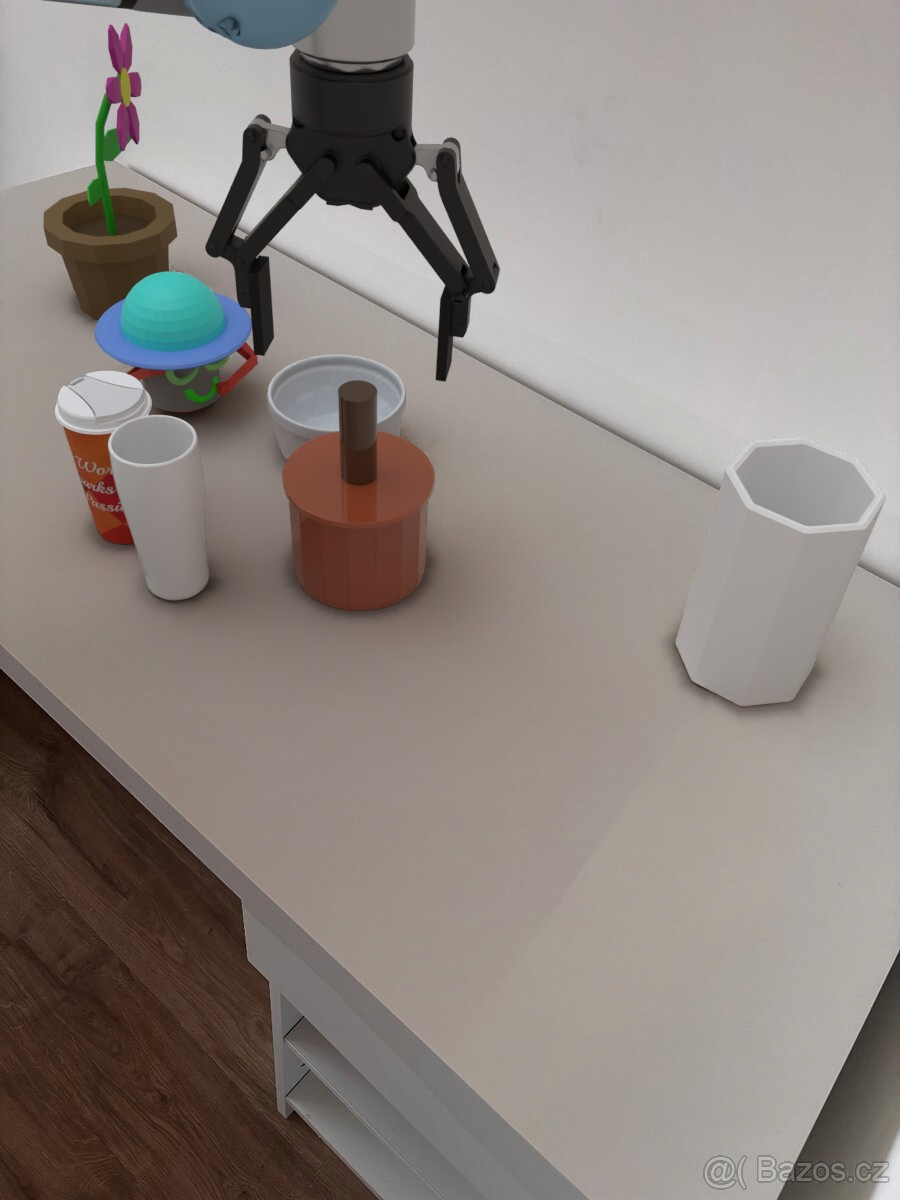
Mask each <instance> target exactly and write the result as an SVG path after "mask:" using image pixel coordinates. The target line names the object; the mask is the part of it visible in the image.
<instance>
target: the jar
mask: <svg viewBox="0 0 900 1200" xmlns="http://www.w3.org/2000/svg"><path fill="white" fill-rule="evenodd" d="M288 507H289V519H290V532H291V533H290V534H291V547H292V559H293V571H294V574H295V577H296V579H297V582H298V583H299V585H300V586H301V588H302V589H303V590H304V591H305V592H306V593H307V594H308V595H309V596H311V598H313V599H314V600H316V601H318V602H320V603H322V604H324V605H326V606H328V607H332V608H336V609H340V610H345V611H346V610H347V611H353V612H354V611H357V612H358V611H362V612H363V611H374V610H379V609H382V608H386V607H390V606H392V605H394V604H396V603H399V602H400V601H402V600H404V599H405V598H406V597H408V596H410V594H412V593H413V592H414V591H415V589H417V587H418V586H419V584H420V582H421V581H422V579H423V576H424V572H425V569H426V564H427V563H426V560H427V537H428V516H429V515H428V514H429V501H428V502H427V503H426V504H425V505H424V506H423V507H422V508H421V509H420V510H419V511H418V512H416V513H415V514H413V515H412V516H410V517H408V518H406V519H404V520H402V521H400V522H397V523H394V524H391V525H387V526H383V527H378V528H370V529H347V528H339V527H334V526H330V525H326V524H323V523H320V522H318V521H315V520H313V519H311V518H309V517H307V516H305V515H304V514H302V513H301V512H300V511H298V510H297V509H296V508H295V507H294V506H293V505H292V504H291V502H290V501H289V500H288Z"/></svg>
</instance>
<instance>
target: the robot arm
mask: <svg viewBox="0 0 900 1200" xmlns="http://www.w3.org/2000/svg"><path fill="white" fill-rule="evenodd" d="M42 1H45V2H54V3H63V4H74V5H83V6H93V7H102V8H111V9H124V10H131V11H135V12H140V13H141V12H143V13H151V14H158V15H169V16H178V17H186V18H187V17H188V18H194V19H195V20H196V21H197V22H198V23H199V24H200V25H201V26H202V27H203V28H205V29H206V30H208V31H209V32H212V33H214V34H217V35H218V36H221V37H223V38H225V39H228V40H229V41H231V42H233V43H234V44H236V45H239V46H242V47H245V48H250V49H254V50H278V49H282V48H286V47H289V46H292V47H293V48H294V50H293V52H292V53H291V54H290V56H289V58H288V59H289V81H290V82H289V83H290V84H289V85H290V105H291V106H290V107H291V125H290V127H287V126H284V125H279V124H275V123H272V121H271V119H270V117H269V116H268V115H266V114H264V113H259V114H257V115H255V117H254V118H253V119H252V120H251V121H250V123H249V124H248V125H247V127H246V128H245V129H244V130H243V132H242V146H241V147H242V149H241V162H240V164H239V167H238V168H237V171H236V174H235V176H234V178H233V180H232V182H231V185H230V188H229V191H228V192H227V194H226V196H225V199H224V202H223V204H222V206H221V208H220V211H219V213H218V216H217V218H216V220H215V223H214V225H213V227H212V228H211V231H210V234H209V236H208V239H207V241H206V243H205V245H204V249H205V253H206V254H207V255H208V256H209V257H210V258H214V259H218V258H221V259H224V260H225V261H228V262H229V263H230V264H231V265H232V267H233V270H234V279H235V292H236V302H237V303H239V305H240V307H242V308H244V309H248V310H249V309H250V318H251V322H252V330H251V333H252V334H251V335H252V343H253V345H252V346H253V351H254V355H257V356H261V357H265V355H266V353H267V351H268V350H269V347H271V345H272V343H273V341H274V339H275V328H274V315H273V314H274V311H273V298H272V282H271V280H272V279H271V267H270V266H271V265H270V264H271V263H270V256H267V255H260V254H261V253H262V251H264V250H265V249H266V247H267V246H268V245H269V244H270V243H271V242H272V240H273V239H275V238H276V236H277V235H278V234H280V232H281V231H282V229H284V227H286V225H287V224H288V223H289V222H290V221H291V220H292V218H293V217H295V215H296V214H297V213H298V212H299V211H301V210H302V209H303V208H304V207H305V206H306V204H307V203H308V202H309V201H310V200H311V199H312V198H313V197H314V195H316V196H317V197H318V198H320V200H323V201H325V205H326V206H333V207H341V206H351V207H354V208H357V209H359V210H364V211H373V210H374V208H379V207H380V206H381V208H382V209H383V211H384V212H385V213H386V214H387V216H388V217H389V218H390V219H391V220H392V221H393V222H394V223H398V225H399V226H400V227H401V228H402V231H404V233H405V234H406V236H408V239H410V241H411V242H412V243H413V245H414V246H415V248H416V249H417V250H418V251H419V252H420V254H421V255H422V256H423V258H424V259H425V261H426V263H428V264H429V266H430V268H432V271H434V272H435V274H436V275H437V276H438V278H439V279H440V281H442V283H443V285H444V287H443V289H442V293H441V295H440V298H439V314H438V315H439V316H438V317H439V318H438V331H437V348H436V349H437V350H436V365H435V381H438V382H445V383H446V382H447V379H448V376H449V372H450V369H451V366H452V361H453V348H454V337H455V338H462V339H464V337H465V335H466V334H467V333H468V332H467V331H468V328H469V325H470V319H471V307H472V296H474V295H476V294H479V293H482V294H484V295H490V294H493V293H494V292H495V290H496V287H497V283H498V281H499V276H500V273H501V268H500V265H499V262H498V259H497V257H496V255H495V252H494V249H493V247H492V245H491V242H490V240H489V237H488V234H487V232H486V229H485V227H484V225H483V223H482V220H481V217H480V215H479V213H478V210H477V207H476V205H475V203H474V200H473V197H472V195H471V193H470V190H469V187H468V185H467V182H466V180H465V178H464V175H463V171H462V170H463V169H462V168H463V167H462V148H461V143H460V142H459V140H458V139H457V138H456V137H453V136H450V137H447V138H445V139H444V140H443V142H442V143H418V142H417V140H416V139H415V136H414V132H413V103H414V102H413V101H414V97H413V96H414V70H415V69H414V68H415V66H414V65H415V63H414V61H413V59H412V58H411V56H410V54H408V53H410V52H411V51H412V50H413V48H414V46H415V43H416V42H415V41H416V9H417V8H416V5H417V0H42ZM282 149H286V152H287V154H288V156H289V157H290V159H291V160H292V162H293V163H294V165H295V166H296V168H297V169H298V170H299V172H300V173H301V174H300V175H299V176H297V178H296V180H295V181H294V182H293V184H291V185H290V187H289V188H288V189H287V190H286V191H285V192H284V194H283V195H282V196H281V197H280V198H279V199H278V200H277V201H276V202H275V203H274V205H273V206H272V207H271V208H270V209H269V210H268V211H267V213H266V214H265V215H264V216H263V217H262V218H261V220H259V222H258V223H257V224H256V225H255V226H254V228H252V230H251V231H250V232H249V233H248V234H247V235H245V237H244V238H242V237H240V236H237V235H236V231H237V229H238V228H239V225H240V222H241V220H242V219H243V216H244V214H245V211H246V210H247V207H248V205H249V203H250V201H251V198H252V196H253V194H254V192H255V190H256V187H257V185H258V183H259V180H260V179H261V176H262V173H263V172H264V169H265V167H266V165H267V163H268V161H270V162H271V161H273V160H274V159H275V158H276V156H277V155H278V154H279V152H280V150H282ZM415 166H420V167H421V168H422V169H424V171H425V173H426V176H427V178H428V179H429V180H430V181H431V182H435V183H437V190H438V194H439V198H440V200H441V203H442V205H443V208H444V210H445V212H446V215H447V217H448V219H449V222H450V224H451V227H452V229H453V231H454V234H455V236H456V239H457V241H458V243H459V245H460V248H461V250H462V252H463V255H464V257H465V259H464V257H463V256H462V255H461V253H460V252H459V251H458V249H457V248H456V246H455V245H454V244H453V242H452V241H451V239H450V238H449V237H448V236H447V234H446V233H445V231H444V230H443V229H442V227H441V226H440V225H439V223H438V222H437V221H436V219H435V218H434V216H433V215H432V213H431V212H430V211H429V209H428V208H427V207H426V205H425V203H424V202H423V201H422V200H421V198H420V197H419V193H418V190H417V188H416V187H415V185H414V184H413V182H412V181H411V180H410V178H409V177H408V176H409V175H410V173H411V172H412V171H413V170H414V169H415Z"/></svg>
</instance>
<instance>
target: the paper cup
mask: <svg viewBox="0 0 900 1200" xmlns="http://www.w3.org/2000/svg"><path fill="white" fill-rule="evenodd" d="M126 373H127V372H122V371H118V370H117V371H116V370H98V371H92V372H88V373H84V375H83V377H82V376H79V377H77V378H76V379H73V380H72V381H69V382H68V385H63V386H62V387H61V388H60V390H59V392H58V395H57V402H56V404H55V407H54V415H55V418H56V420H57V422H58V423H59V424H60V425H61V426H62V428H63V431H64V434H65V437H66V440H67V443H68V447H69V450H70V452H71V455H72V459H73V462H74V465H75V467H76V471H77V474H78V477H79V481H80V483H81V486H82V488H83V492H84V495H85V498H86V501H87V504H88V507H89V510H90V512H91V516H92V518H93V521H94V525H95V527H96V530H97V532H98V534H99V535H100V537H101V538H103V540H105V541H107V542H109V543H112V544H117V545H132V544H134V541H133V538H132V535H131V532H130V529H129V526H128V523H127V520H126V517H125V514H124V511H123V508H122V505H121V502H120V499H119V496H118V493H117V490H116V486H115V482H114V478H113V473H112V468H111V462H110V456H109V449H108V441H109V438H110V436H111V434H112V433H113V432H114V431H115V430H116V429H117V428H118V427H119V426H121V425H122V424H124V423H126V422H128V421H130V420H132V419H135V418H139V417H143V416H149V415H150V413H151V410H152V407H153V405H152V400H151V397H150V395H149V394H148V392H147V391H146V390H145V388H144V384H142V383H141V380H137V379H136V378H135V377H133V376H131V375H129V374H126Z"/></svg>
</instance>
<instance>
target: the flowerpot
mask: <svg viewBox="0 0 900 1200" xmlns="http://www.w3.org/2000/svg"><path fill="white" fill-rule="evenodd" d="M107 45H108V46H107V50H108V54H109V57H110V61H111V65H112V66H111V67H112V68H113V69H114V71H115V72H116V75H115V76H111V77H110V76H109V77H107V78H106V82H105V93H104V94H103V97H102V102H101V104H100V108H99V110H98V114H97V116H96V120H95V127H94V131H95V132H94V133H95V134H94V135H95V137H94V139H95V141H94V143H95V151H94V153H95V155H94V156H95V158H94V159H95V160H94V161H95V162H94V163H95V168H96V173H97V177H96V178H93V179H92V180H91V181H90V183H89V184H88V185H87V187H86V190H84V191H81V192H79V193H74V194H72V195H68V196H65V197H61V198H60V199H58V201H56V202H55V203H54V204H52V205H51V206H50V207H48V208H47V209H45V211H43V224H42V225H43V227H42V228H43V233H44V236H45V239H46V244H47V247H49V248H51V250H53V251H55V252H56V253H57V254H59V255H61V258H62V262H63V264H64V266H65V269H66V273H67V275H68V277H69V280H70V282H71V286H72V288H73V291H74V294H75V295H76V299H77V301H78V304H79V307H80V309H81V311H83V312H84V313H86V314H87V315H88V316H90V317H91V318H92V319H93V320H99V319H100V318H101V316H102V315H103V314H104V313H105V312H106V311H107V310H108V309H109V308H110V307H112V306H113V305H115V304H116V303H118V302H120V301H122V300H124V299H126V297H127V295H128V293H129V292H130V291H131V289H132V288H133V287H134V286H135V285H136V284H137V283H138V282H140V281H141V280H142V279H144V278H145V277H147V276H149V275H152V274H155V273H160V272H166V271H170V257H169V256H170V255H169V252H170V251H169V245H170V244H171V243H172V242H173V241H175V240H176V239H177V238H178V229H177V221H176V215H175V209H174V204H173V203H172V202H170V201H169V200H167V199H165V198H163V197H162V196H161V195H159V194H157V193H156V192H152V191H147V190H146V191H145V190H140V189H135V188H128V187H112V188H110V186H109V181H108V174H107V171H106V164H105V162H113V161H114V160H115V159H116V158H118V157H119V155H120V154H121V153H122V152H125V151H126V148H127V146H128V144H129V143H130V142H131V140H132V141H133V142H134V144H135V145H139V142H140V119H139V115H138V111H137V107H136V105H135V104H134V103H133V102H132V100H131V98H139V97H141V95H142V77H141V75H140V73H139V71H131V72H129V71H130V69H131V67H132V64H133V41H132V35H131V29H130V26H129V24H128V23H127V22H126V23H125V22H124V24H123V27H122V28H121V31H120V34H118V32H117V30H116V28H115V27H114V25H113V24H109V25H108V28H107ZM117 104H119V105H118V108H117V110H116V127H114V128H111V129H108V130H106V132H105V128H106V127H105V126H106V123H107V120H108V116H109V114H110V110H111V107H112V105H117Z"/></svg>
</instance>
